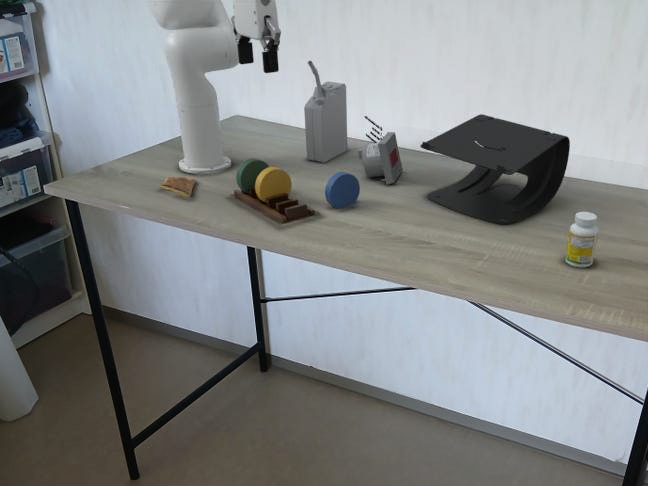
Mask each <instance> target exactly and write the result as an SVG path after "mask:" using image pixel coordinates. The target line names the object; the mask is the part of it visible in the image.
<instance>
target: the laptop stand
mask: <svg viewBox="0 0 648 486" xmlns="http://www.w3.org/2000/svg"><path fill="white" fill-rule="evenodd" d="M570 145H571V140H570V138H569V136H568V135H563V134H559V133H556V132H551V131H548V130H545V129H540V128H536V127H532V126H529V125H525V124H521V123H518V122H513V121H509V120H505V119H502V118H498V117H493V116H490V115H486V114H482V113H481V114H478V115H475V116H474V117H472V118H470V119H468V120H466V121H463V122H462V123H460V124H458V125H456V126H454V127H452V128H450V129H449V130H447V131H444V132H442V133H441V134H438V135H437V136H435V137H433V138H431V139H429V140H426V141H422V143H421V144H420V145H419V146H420V147H419V148H421V149H423V150H426V151H430V152H433V153H436V154H439V155H442V156H446V157H449V158H451V159H455V160H458V161H461V162H464V163H467V164H471V165H475V166H474V167H473V169H472V170H471V171H470V172H468V174H466V175H465V176H464V177H463V178H461V179H459V180H458V181H456V182H454V183H453V184H450V185H447V186H445V187H442V188H439V189H437V190H435V191H432V192H429V193H428V194H427V196H426V198H427V199H428V200H430V201H431V202H433V203H435V204H438V205H440V206H442V207H444V208H447V209H449V210H452V211H454V212H457V213H459V214H462V215H465V216H468V217H472V218H475V219H478V220H481V221H484V222H488V223H492V224H496V225H511V224H512V225H513V224H515V223H518V222H520V221H522V220H525V219H527V218H529V217H531V216H534V215H536V214H537V213H539V212H541V210H543V209H544V208H545V207H546V206H548V205H549V203H551V202H552V200H553V199H554V198H555V196H556V195H557V193H558V192H559V190H560V187H561V186H562V183H563V180H564V178H565V174H566V171H567V167H568V162H569V157H570V149H571V146H570ZM516 173H517V174H520V175H524V176H526V178H527V182H526V184H525V185H524V187H523V188H521V187H517V186H515V185H511V184H503V185H500V186H497V187H495V188H492V189H489V188H490V187H492V186H493V185H494V184H495V183H496V182H497V181H498V180H500V178H501V177H502V176H503V175H507V176H511V175H512V176H513V175H514V174H516ZM488 189H489V190H488Z"/></svg>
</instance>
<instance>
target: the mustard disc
mask: <svg viewBox="0 0 648 486" xmlns="http://www.w3.org/2000/svg"><path fill="white" fill-rule="evenodd" d="M292 183H293V182H292V179H291V176H290V175H289V173H288V172H287V171H286V170H284V169H282V168H279V167H278V166H269V167H268V168H266V169H264V170H263V171H262V172H261V173H260V174H259V175H258V177H257V179H256V183H255V191H256V194H257V196H258V197H259V199H260V200H262V201H263V202H265V203H266V198H267V197H271V196H275V195H279V194H283V193H287V194H288V196H290V194H291V192H292V186H293V184H292Z"/></svg>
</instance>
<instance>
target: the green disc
mask: <svg viewBox="0 0 648 486" xmlns="http://www.w3.org/2000/svg"><path fill="white" fill-rule="evenodd" d="M268 167H270V165H269V164H268V163H267V162H266V161H263V160H261V159H259V158H257V157H251V158H247V159H245V160H244V161H243V162H242V163H240V165H239V166H238V168H237V171H236V175H235V178H236V179H235V180H236V184H237V187H238V188H239V190H240V191H241V190H242V191H244V192H245V193H247V194H249V191H248V188H250V187H254V186H255V183H256V179H257V177H258V175H259V174H260V173H261V172H262V171H263V170H264V169H266V168H268Z"/></svg>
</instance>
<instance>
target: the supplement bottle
mask: <svg viewBox="0 0 648 486" xmlns="http://www.w3.org/2000/svg"><path fill="white" fill-rule="evenodd" d="M597 221H598V216H597V214H595V213H592V212H589V211H579V212H577V213H576V214H575V216H574V223H572V224H571V225H570V227H569V231H568V239H567V245H566V252H565V262H566V264H568V266H569V265H570V266H572V267H575V268H588V267H590V266H592V265H593V263H594V259H595V253H596V248H597V247H596V246H597V241H598V236H599V228H598V226H597V225H596V224H597Z"/></svg>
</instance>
